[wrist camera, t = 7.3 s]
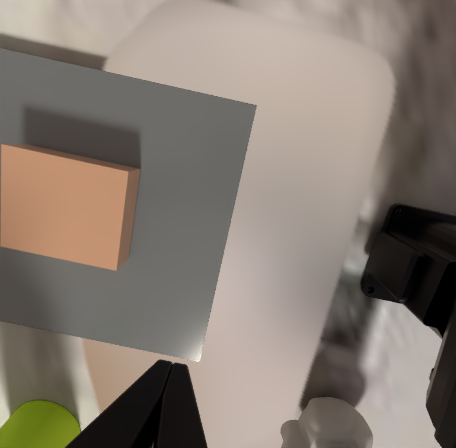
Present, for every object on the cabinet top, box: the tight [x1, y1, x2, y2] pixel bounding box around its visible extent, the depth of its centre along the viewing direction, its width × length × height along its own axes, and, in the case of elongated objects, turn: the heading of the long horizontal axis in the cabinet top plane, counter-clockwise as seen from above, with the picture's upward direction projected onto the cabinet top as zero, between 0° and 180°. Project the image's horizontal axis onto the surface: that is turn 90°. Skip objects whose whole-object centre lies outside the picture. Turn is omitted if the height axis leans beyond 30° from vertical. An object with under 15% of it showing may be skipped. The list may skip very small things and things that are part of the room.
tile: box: [1, 144, 140, 271], centre depth 18 cm, size 2×6×7 cm
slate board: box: [0, 48, 256, 362], centre depth 20 cm, size 16×18×1 cm
